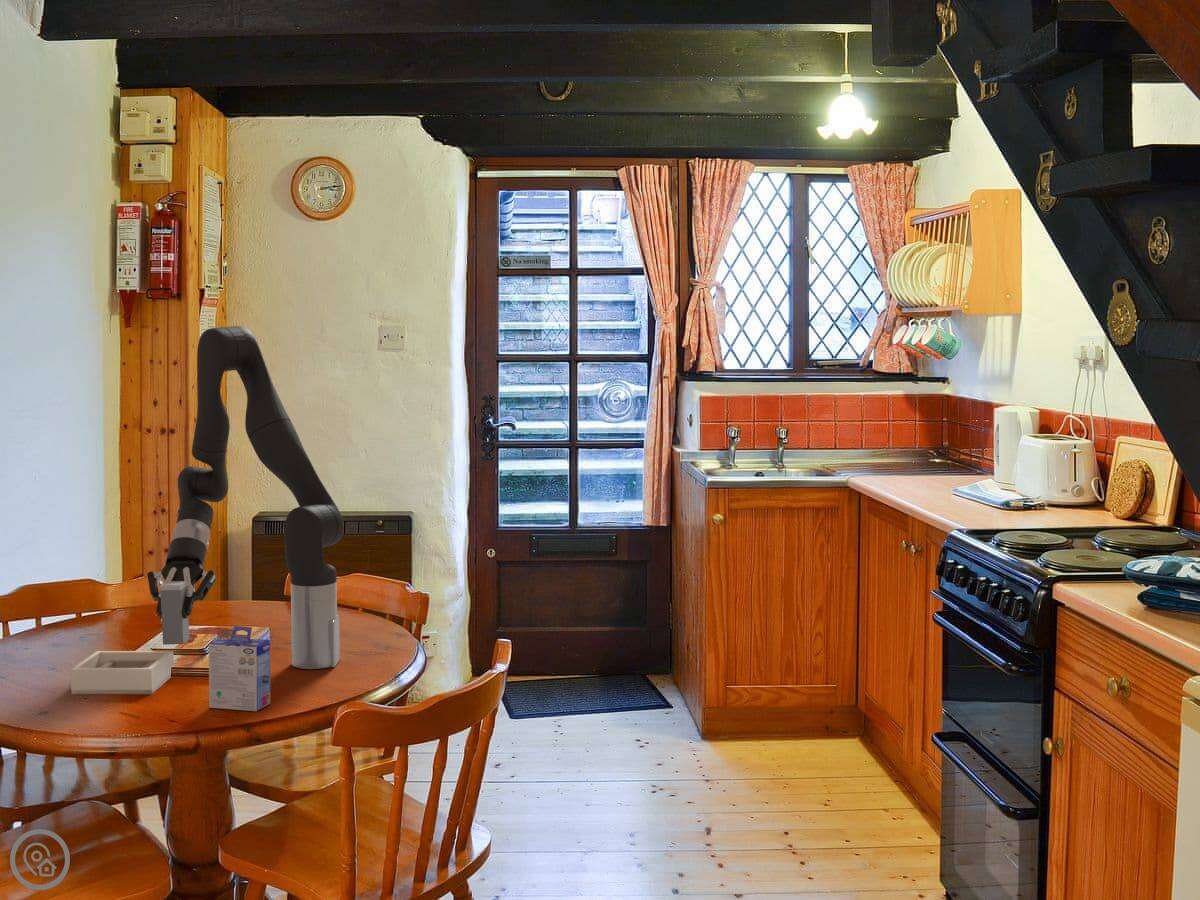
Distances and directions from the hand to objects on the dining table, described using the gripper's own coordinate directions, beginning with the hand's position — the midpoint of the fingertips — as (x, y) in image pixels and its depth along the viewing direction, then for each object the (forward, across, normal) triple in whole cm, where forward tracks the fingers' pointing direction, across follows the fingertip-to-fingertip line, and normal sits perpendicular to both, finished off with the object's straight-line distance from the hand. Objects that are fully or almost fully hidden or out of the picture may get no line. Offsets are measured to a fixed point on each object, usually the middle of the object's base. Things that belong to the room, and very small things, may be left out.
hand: (172, 616), depth 240 cm
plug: (+3, 0, +5) cm, 6 cm away
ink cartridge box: (+24, +19, -6) cm, 31 cm away
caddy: (+13, -8, +3) cm, 16 cm away
